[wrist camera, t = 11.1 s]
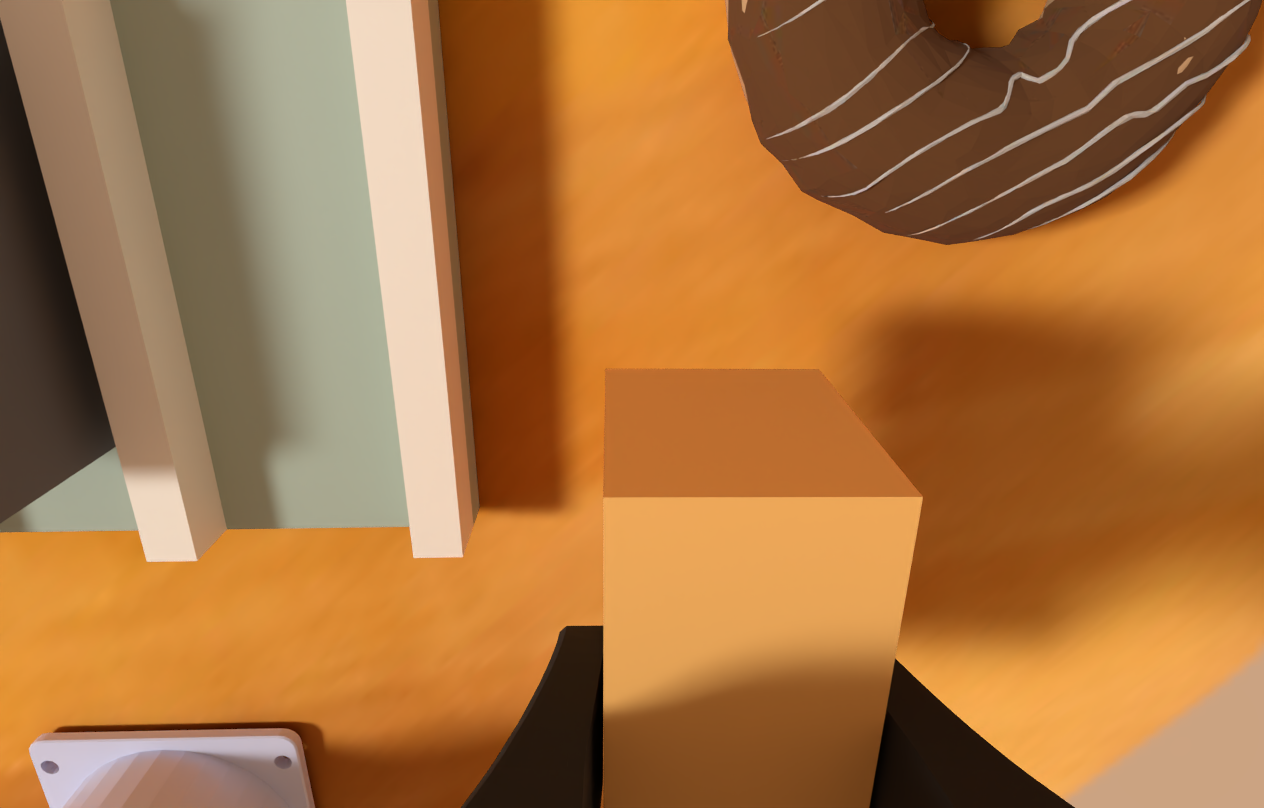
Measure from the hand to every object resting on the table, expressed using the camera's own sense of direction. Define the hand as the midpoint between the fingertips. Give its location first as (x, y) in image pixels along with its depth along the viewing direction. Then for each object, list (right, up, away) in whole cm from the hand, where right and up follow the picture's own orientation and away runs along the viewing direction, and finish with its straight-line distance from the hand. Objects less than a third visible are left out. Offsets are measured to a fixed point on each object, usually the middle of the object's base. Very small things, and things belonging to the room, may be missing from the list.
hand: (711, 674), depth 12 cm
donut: (+6, +14, +4) cm, 16 cm away
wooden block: (0, 0, +2) cm, 2 cm away
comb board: (-13, +9, +5) cm, 16 cm away
